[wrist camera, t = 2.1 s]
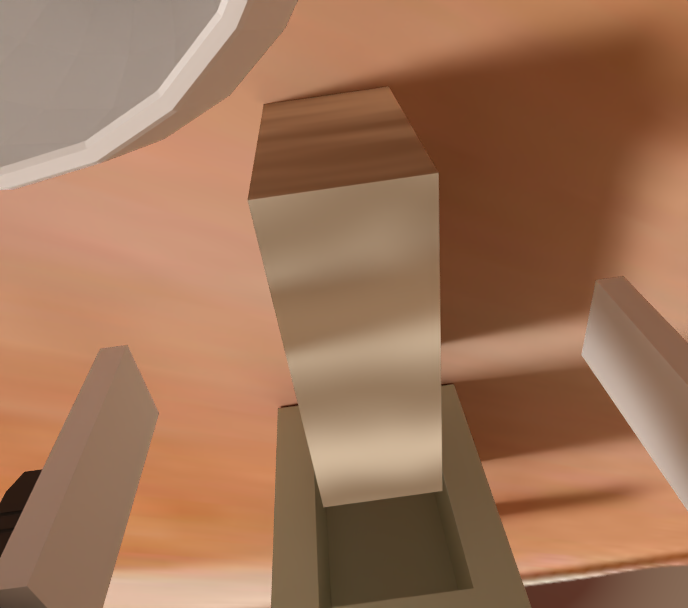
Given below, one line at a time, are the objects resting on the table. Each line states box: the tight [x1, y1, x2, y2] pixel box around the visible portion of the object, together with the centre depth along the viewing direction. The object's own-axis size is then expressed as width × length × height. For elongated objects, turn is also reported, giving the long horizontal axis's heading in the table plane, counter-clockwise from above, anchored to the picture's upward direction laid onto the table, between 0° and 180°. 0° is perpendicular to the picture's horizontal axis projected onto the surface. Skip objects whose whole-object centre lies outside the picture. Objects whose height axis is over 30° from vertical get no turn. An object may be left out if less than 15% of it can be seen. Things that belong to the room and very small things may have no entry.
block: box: [271, 384, 531, 608], centre depth 28 cm, size 8×10×12 cm
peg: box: [248, 86, 442, 507], centre depth 21 cm, size 14×5×9 cm, turn 7°
